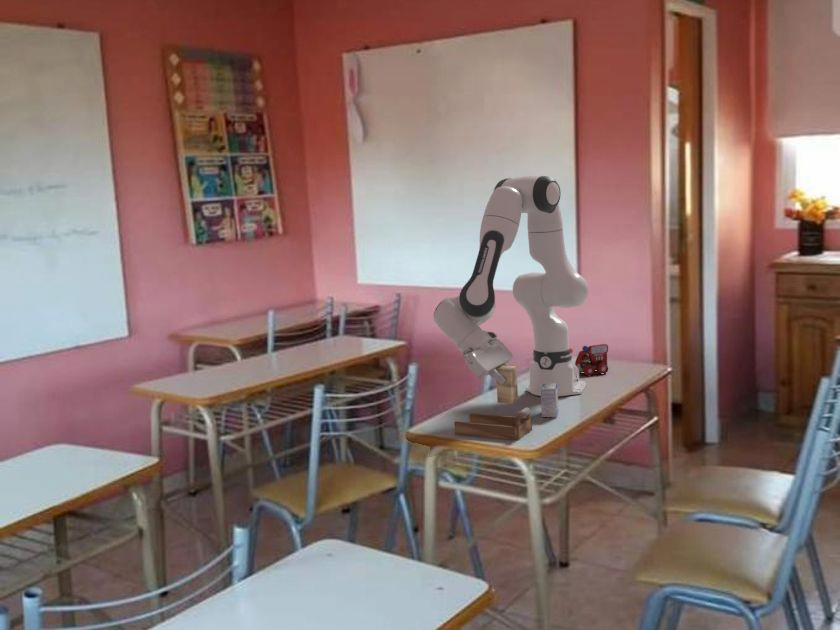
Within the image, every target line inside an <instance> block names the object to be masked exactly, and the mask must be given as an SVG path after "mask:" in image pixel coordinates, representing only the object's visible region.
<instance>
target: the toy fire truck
mask: <svg viewBox="0 0 840 630" xmlns="http://www.w3.org/2000/svg"><path fill="white" fill-rule="evenodd" d="M608 352H609V345H608V344H606V343H600V344H594V345H589V346H588V345H584V346H582V350H579V352H578V354H577V357H576V358H575V359H576V360H575V361H574V364H575V365H576V366H577V367H578V369H579V372H580V373H579V374H582V373H581V372H584V373H583V375H585V376H587V375H592V374H593V375H595V373H597V374H599V373H606V372H607V373H608V370H609V366H608ZM595 370H597V372H595ZM607 373H606V374H607ZM593 375H592V376H593Z"/></svg>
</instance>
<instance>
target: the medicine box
mask: <svg viewBox="0 0 840 630" xmlns="http://www.w3.org/2000/svg"><path fill="white" fill-rule="evenodd" d="M540 403H541V404H540V406H541V407H540V408H541V417H542V418H543V417H548V418H547V419H549V417H553V419H554V418H555V417H557V418H558V413H559V396H558V390H557V383H546V384H543V386H542V388H541V396H540ZM555 419H556V418H555Z"/></svg>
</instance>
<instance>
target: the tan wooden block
mask: <svg viewBox="0 0 840 630" xmlns="http://www.w3.org/2000/svg"><path fill="white" fill-rule="evenodd" d="M496 370H497V372H498V373H499V374H501V375H504V376H505V378H506V379H507V381H506V382H505V383H503V384H501V383H500V382H499V381H498V380H496V379H495V381H496V382H495V383H496V399H497V404H514V403H515V402H517V401H518V400H519V394H518V393H519V391H518V373H517V372H518V371H517V365H509V366H503V365H502V366H500V367H498V368H496Z"/></svg>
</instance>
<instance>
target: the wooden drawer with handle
mask: <svg viewBox="0 0 840 630" xmlns="http://www.w3.org/2000/svg"><path fill="white" fill-rule="evenodd" d="M531 412H532V411H531V408H530V407H524V408H523V409H521V410H519V411H518V412H516V413H515V416H512V415H498V414H489V413H487V414H485V413H474V412H470V413H469V415H468V416H469V422H467V421H454V425H453V426H454V435H456V434H459V436H467V435H468V437H469V436H471V437H479V438H480V437H481V438H489V439H490V438H491V439H499V438H501V439H502V440H510V439H515V440H514V441H519V440H521V439H522V438H523V437H525V436H527V435H528V434H529V433H531V432H532V431H533V418H532V417H531ZM531 430H532V431H531ZM530 431H531V432H530ZM527 433H528V434H527ZM524 435H525V436H524ZM501 439H500V440H501Z"/></svg>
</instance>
